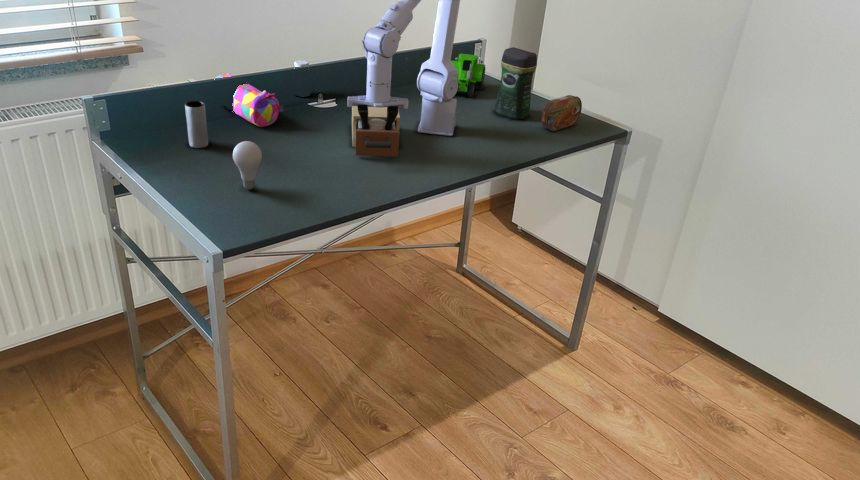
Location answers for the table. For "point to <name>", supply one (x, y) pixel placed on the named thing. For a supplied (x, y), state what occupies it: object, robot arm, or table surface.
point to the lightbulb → (247, 162)
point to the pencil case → (255, 104)
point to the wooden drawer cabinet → (372, 114)
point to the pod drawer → (376, 141)
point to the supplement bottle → (301, 63)
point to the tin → (561, 112)
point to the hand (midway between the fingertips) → (376, 135)
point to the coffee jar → (516, 83)
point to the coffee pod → (377, 124)
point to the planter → (196, 124)
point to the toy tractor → (469, 73)
